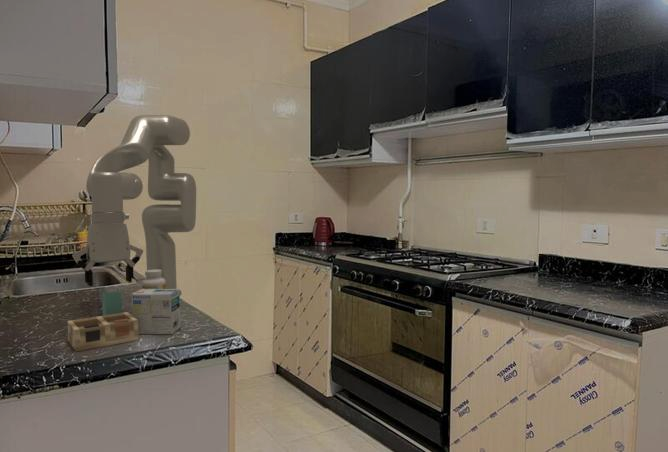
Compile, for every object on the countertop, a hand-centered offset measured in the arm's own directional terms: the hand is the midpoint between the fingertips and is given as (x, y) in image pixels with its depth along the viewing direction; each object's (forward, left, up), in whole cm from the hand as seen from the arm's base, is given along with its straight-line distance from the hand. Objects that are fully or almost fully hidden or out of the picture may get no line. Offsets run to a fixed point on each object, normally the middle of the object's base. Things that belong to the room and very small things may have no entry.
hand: (109, 283), depth 131 cm
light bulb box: (+10, +9, -13) cm, 18 cm away
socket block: (+9, -4, -12) cm, 16 cm away
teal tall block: (-1, 0, -12) cm, 12 cm away
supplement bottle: (-10, +14, -13) cm, 21 cm away
